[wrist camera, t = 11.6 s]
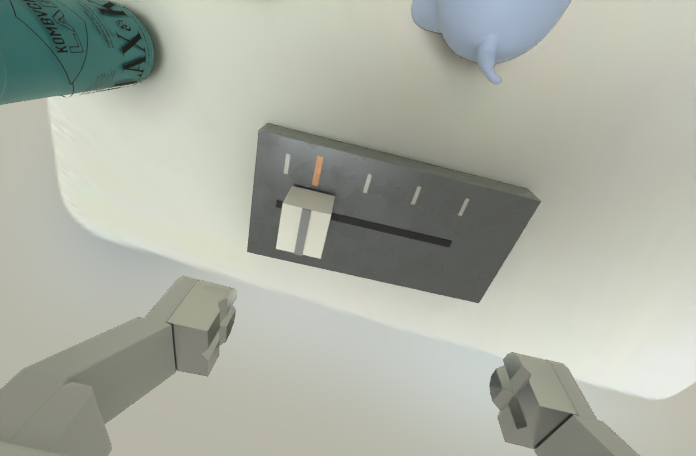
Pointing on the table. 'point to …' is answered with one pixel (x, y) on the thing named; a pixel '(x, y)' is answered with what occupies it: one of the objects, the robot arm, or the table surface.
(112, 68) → the beverage bottle
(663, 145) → the table surface
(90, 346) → the robot arm
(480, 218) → the fader panel
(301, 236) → the fader knob
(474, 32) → the hippopotamus toy
